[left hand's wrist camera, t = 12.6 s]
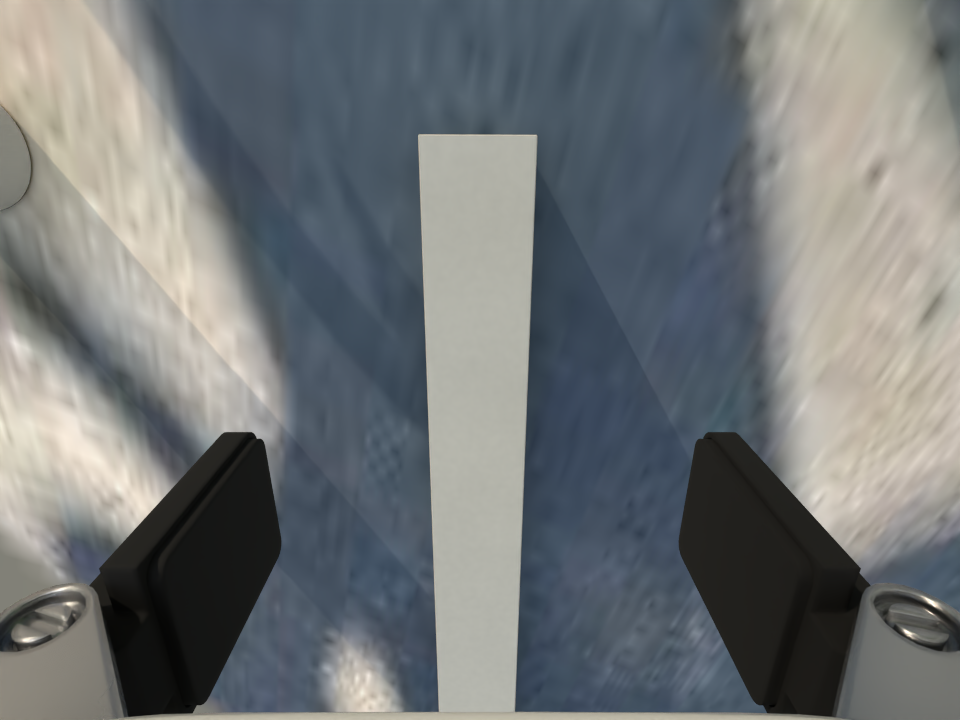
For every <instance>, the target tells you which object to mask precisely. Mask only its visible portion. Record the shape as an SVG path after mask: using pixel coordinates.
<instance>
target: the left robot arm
mask: <svg viewBox="0 0 960 720" xmlns="http://www.w3.org/2000/svg"><path fill="white" fill-rule="evenodd" d="M280 550H281V535H280V529H279V523H278V518H277V512H276V506H275V501H274V495H273V489H272V483H271V478H270V472H269V466H268V460H267V455H266V449H265V444H264V442H263V440H262V439H257V438H256V436H255V434H254V433H252V432H225V433H223V434H222V435H221V436H220V437H219V438H218V439H217V440H216V441H215V442H214V443H213V444H212V446H211V447H210V448H209V449H208V450H207V451H206V452H205V453H204V454H203V455H202V457H201V458H200V459H199V460H198V461H197V462H196V463H195V464H194V465H193V466H192V467H191V469H190V470H189V471H188V472H187V473H186V474H185V475H184V476H183V477H182V478H181V480H180V481H179V482H178V483H177V484H176V485H175V486H174V487H173V488H172V489H171V490H170V492H169V493H168V494H167V495H166V496H165V497H164V498H163V499H162V500H161V501H160V503H159V504H158V505H157V506H156V507H155V508H154V509H153V510H152V511H151V512H150V513H149V515H148V516H147V517H146V518H145V519H144V520H143V521H142V522H141V523H140V524H139V526H138V527H137V528H136V529H135V530H134V531H133V532H132V533H131V534H130V535H129V537H128V538H127V539H126V540H125V541H124V542H123V543H122V544H121V545H120V546H119V547H118V549H117V550H116V551H115V552H114V553H113V554H112V555H111V556H110V557H109V558H108V560H107V561H106V562H105V563H104V564H103V565H102V566H101V567H100V568H99V569H100V572H101V573H100V574H99V576H98V577H97V578H96V579H95V580H94V581H93V582H92V583H91V584H90V586H88V585H86V584H79V583H68V584H62V585H56V586H52V587H49V588H46V589H43V590H40V591H37V592H35V593H33V594H31V595H29V596H27V597H25V598H23V599H21V600H19V601H17V602H16V603H14V604H13V605H11V606H10V607H8V608H7V609H5V610H4V611H3V612H1V613H0V720H960V613H959V612H958V611H956V610H955V609H953V608H952V607H950V606H949V605H947V604H946V603H944V602H943V601H941V600H939V599H937V598H935V597H933V596H931V595H929V594H927V593H925V592H923V591H920V590H917V589H914V588H911V587H908V586H904V585H898V584H892V583H881V584H874V585H872V586H870V584H869V583H868V582H867V581H866V580H865V579H864V578H863V577H862V576H861V574H860V573H859V572H860V569H861V568H860V567H859V566H858V565H857V564H856V563H855V562H854V561H853V560H852V558H851V557H850V556H849V555H848V554H847V553H846V552H845V551H844V550H843V549H842V547H841V546H840V545H839V544H838V543H837V542H836V541H835V540H834V539H833V538H832V537H831V535H830V534H829V533H828V532H827V531H826V530H825V529H824V528H823V527H822V526H821V524H820V523H819V522H818V521H817V520H816V519H815V518H814V517H813V516H812V515H811V513H810V512H809V511H808V510H807V509H806V508H805V507H804V506H803V505H802V504H801V503H800V501H799V500H798V499H797V498H796V497H795V496H794V495H793V494H792V493H791V492H790V490H789V489H788V488H787V487H786V486H785V485H784V484H783V483H782V482H781V481H780V480H779V478H778V477H777V476H776V475H775V474H774V473H773V472H772V471H771V470H770V469H769V467H768V466H767V465H766V464H765V463H764V462H763V461H762V460H761V459H760V458H759V457H758V455H757V454H756V453H755V452H754V451H753V450H752V449H751V448H750V447H749V446H748V444H747V443H746V442H745V441H744V440H743V439H742V438H741V437H740V436H739V435H738V434H737V433H735V432H708V433H706V434H705V436H704V438H703V439H698V440H697V442H696V444H695V449H694V455H693V460H692V466H691V472H690V478H689V483H688V489H687V495H686V501H685V506H684V512H683V518H682V523H681V529H680V535H679V550H680V554H681V557H682V559H683V561H684V563H685V565H686V567H687V569H688V571H689V573H690V575H691V577H692V579H693V581H694V583H695V585H696V587H697V589H698V591H699V593H700V595H701V597H702V599H703V601H704V603H705V605H706V607H707V609H708V611H709V613H710V615H711V617H712V619H713V621H714V623H715V625H716V627H717V629H718V631H719V633H720V635H721V637H722V639H723V641H724V643H725V645H726V647H727V649H728V651H729V653H730V656H731V658H732V660H733V662H734V664H735V666H736V668H737V670H738V672H739V674H740V676H741V678H742V680H743V682H744V684H745V686H746V688H747V690H748V692H749V694H750V696H751V697H752V699H753V701H754V702H755V703H756V704H758V705H763V706H764V708H765V709H766V711H767V713H768V714H767V713H704V712H256V713H193V711H194V709H195V708H196V706H197V705H202V704H204V703H205V702H206V701H207V699H208V697H209V696H210V694H211V692H212V690H213V688H214V686H215V684H216V682H217V680H218V678H219V676H220V674H221V672H222V670H223V668H224V666H225V664H226V662H227V660H228V658H229V656H230V653H231V651H232V649H233V647H234V645H235V643H236V641H237V639H238V637H239V635H240V633H241V631H242V629H243V627H244V625H245V623H246V621H247V619H248V617H249V615H250V613H251V611H252V609H253V607H254V605H255V603H256V601H257V599H258V597H259V595H260V593H261V591H262V589H263V587H264V585H265V583H266V581H267V579H268V577H269V575H270V573H271V571H272V569H273V567H274V565H275V563H276V561H277V559H278V557H279V554H280ZM192 713H193V714H192Z"/></svg>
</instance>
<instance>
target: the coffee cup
mask: <svg viewBox="0 0 960 720" xmlns="http://www.w3.org/2000/svg"><path fill="white" fill-rule="evenodd" d="M30 175H31V162H30V155H29V151H28V148H27V145H26V142H25V140H24V137H23V135H22V133H21V131H20V130H19V128H18V126H17V125H16V123H15V122H14V120H13V119H12V118H11V116H10V115H9V114H8V113H7V112H6V111H5V109H4V108H3V107H2V106H1V105H0V210H4V209H7V208H9V207H11V206H12V205H14V204H15V203H17V202H18V201H19V200H20V199H21V198H22V196H23V195H24V193H25V192H26V190H27V187H28V185H29V181H30Z"/></svg>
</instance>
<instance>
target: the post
mask: <svg viewBox="0 0 960 720" xmlns="http://www.w3.org/2000/svg"><path fill="white" fill-rule="evenodd" d="M418 145H419V172H420V200H421V228H422V255H423V283H424V311H425V338H426V366H427V393H428V421H429V449H430V476H431V504H432V532H433V559H434V587H435V614H436V642H437V670H438V697H439V712H515V697H516V671H517V646H518V620H519V594H520V569H521V543H522V518H523V492H524V467H525V441H526V416H527V390H528V365H529V339H530V313H531V288H532V262H533V237H534V211H535V186H536V160H537V135H423V134H420V135H418Z"/></svg>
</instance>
